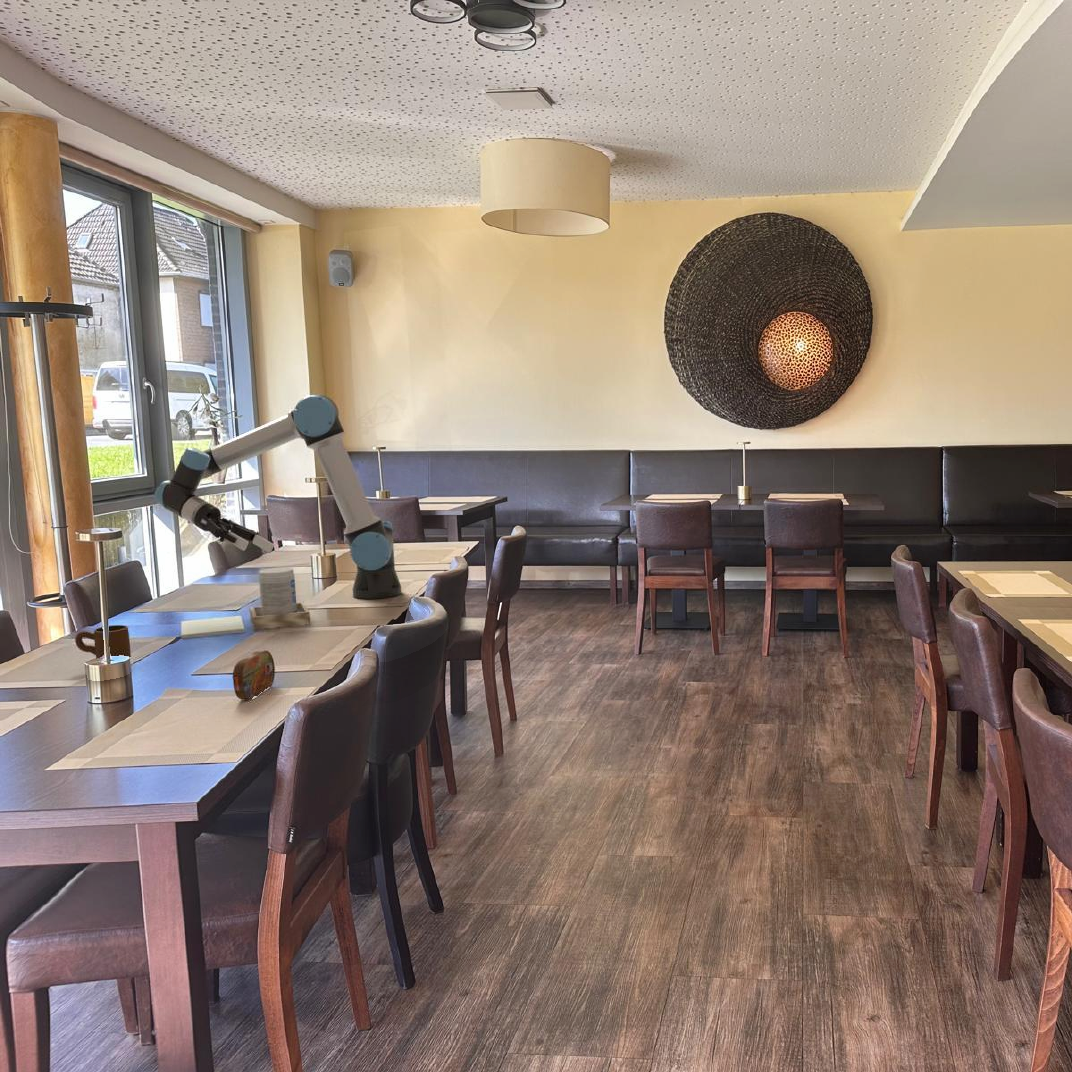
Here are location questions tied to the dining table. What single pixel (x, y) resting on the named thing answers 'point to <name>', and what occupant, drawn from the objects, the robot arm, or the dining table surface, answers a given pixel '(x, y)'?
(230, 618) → the board
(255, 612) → the holder frame
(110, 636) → the mug
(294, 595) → the supplement tub
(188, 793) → the dining table surface
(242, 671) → the tin
